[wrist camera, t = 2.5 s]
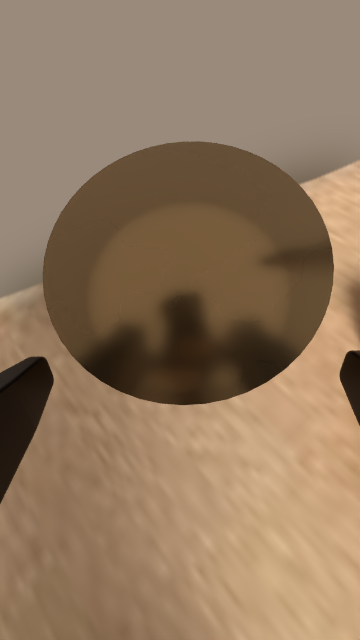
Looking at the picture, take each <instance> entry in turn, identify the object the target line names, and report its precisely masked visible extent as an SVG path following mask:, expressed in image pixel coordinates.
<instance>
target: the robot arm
mask: <svg viewBox="0 0 360 640" xmlns="http://www.w3.org/2000/svg"><path fill="white" fill-rule="evenodd" d="M340 381H341V383H342V386H343V388H344V390H345V393H346V395H347V397H348V400H349V402H350V404H351V407H352V409H353V412H354V414H355V416H356V419H357V421H358V423H359V425H360V350H358V351H349V352H347V354H346V356H345V359H344V362H343V364H342V367H341V370H340ZM53 382H54V378H53V374H52V372H51V369H50V367H49V364H48V362H47V360H46V358H44V357H29V358H27V359H25V360H23V361H21V362H20V363H18V364H16V365H14V366H12V367H10V368H8V369H6V370H5V371H3V372H1V373H0V504H1V501H2V499H3V497H4V495H5V493H6V491H7V489H8V487H9V485H10V483H11V481H12V479H13V477H14V475H15V473H16V471H17V469H18V466H19V464H20V462H21V460H22V458H23V456H24V454H25V452H26V450H27V448H28V446H29V444H30V442H31V440H32V438H33V435H34V433H35V431H36V429H37V426H38V424H39V421H40V419H41V416H42V413H43V410H44V408H45V405H46V402H47V400H48V397H49V394H50V391H51V389H52V386H53Z"/></svg>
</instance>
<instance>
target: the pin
mask: <svg viewBox="0 0 360 640" xmlns="http://www.w3.org/2000/svg"><path fill="white" fill-rule="evenodd" d="M333 272H334V264H333V254H332V247H331V243H330V239H329V235H328V231H327V229H326V226H325V224H324V222H323V219H322V217H321V215H320V213H319V211H318V210H317V208H316V206H315V205H314V203H313V201H312V200H311V199H310V197H309V196H308V195H307V194H306V192H305V191H304V190H303V189H302V187H300V186H299V185H298V184H297V183H296V182H295V181H294V180H293V179H292V178H291V177H290V176H289V175H288V174H286V173H285V172H283V171H282V170H281V169H280V168H278V167H277V166H275V165H274V164H272V163H270V162H269V161H267V160H265V159H263V158H261V157H259V156H257V155H254V154H252V153H250V152H248V151H245V150H241V149H239V148H235V147H232V146H227V145H222V144H217V143H209V142H177V143H168V144H163V145H158V146H154V147H150V148H146V149H143V150H140V151H137V152H135V153H132V154H130V155H128V156H125V157H123V158H121V159H119V160H117V161H115V162H114V163H112V164H111V165H108V166H107V167H105V168H104V169H102V170H101V171H100V172H98V173H97V174H96V175H94V176H93V177H92V178H91V179H90V180H89V181H87V182H86V183H85V184H84V185H83V186H82V187H81V188H80V189H79V190H78V191H77V192H76V194H75V195H74V196H73V197H72V198H71V199H70V201H69V202H68V204H67V205H66V206H65V208H64V209H63V211H62V212H61V214H60V216H59V218H58V220H57V222H56V223H55V226H54V228H53V230H52V233H51V236H50V238H49V241H48V245H47V249H46V253H45V257H44V267H43V288H44V296H45V301H46V306H47V310H48V313H49V316H50V318H51V321H52V324H53V326H54V328H55V330H56V332H57V334H58V336H59V338H60V340H61V341H62V343H63V344H64V345H65V347H66V348H67V349H68V351H69V352H70V354H71V355H72V356H73V357H74V358H75V359H76V360H77V361H78V362H79V363H80V364H81V365H82V366H83V367H84V368H85V369H86V370H87V371H88V372H90V373H91V374H92V375H94V376H95V377H96V378H98V379H99V380H100V381H102V382H104V383H105V384H107V385H109V386H111V387H113V388H115V389H116V390H118V391H120V392H123V393H126V394H128V395H131V396H134V397H136V398H139V399H143V400H148V401H152V402H157V403H163V404H176V405H191V404H206V403H211V402H216V401H221V400H225V399H229V398H232V397H235V396H237V395H240V394H243V393H246V392H248V391H250V390H252V389H254V388H256V387H258V386H260V385H262V384H264V383H266V382H268V381H269V380H270V379H272V378H273V377H275V376H276V375H277V374H279V373H280V372H282V371H283V370H284V369H286V368H287V367H288V366H289V365H290V364H291V363H292V362H293V361H294V360H295V359H296V358H297V357H298V356H299V355H300V354H301V353H302V351H303V350H304V349H305V348H306V346H307V345H308V344H309V342H310V341H311V340H312V338H313V337H314V335H315V333H316V331H317V330H318V328H319V326H320V324H321V322H322V320H323V318H324V315H325V312H326V310H327V307H328V304H329V301H330V296H331V291H332V286H333Z"/></svg>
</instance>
